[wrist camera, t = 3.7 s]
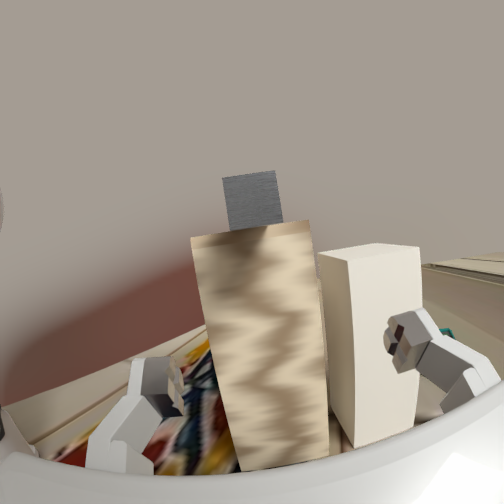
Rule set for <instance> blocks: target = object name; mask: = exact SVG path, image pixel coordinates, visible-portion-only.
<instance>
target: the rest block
mask: <svg viewBox="0 0 504 504" xmlns="http://www.w3.org/2000/svg"><path fill="white" fill-rule="evenodd" d="M317 255H318V263H319V271H320V280H321V289H322V298H323V307H324V318H325V328H326V340H327V352H328V366H329V382H330V402H331V408H332V410H333V411H334V413H335V415H336V417H337V419H338V421H339V422H340V424H341V426H342V428H343V430H344V431H345V433H346V435H347V437H348V439H349V440H350V442H351V444H352V446H353V448H357V447H360V446H363V445H366V444H369V443H372V442H375V441H378V440H381V439H383V438H386V437H389V436H391V435H394V434H397V433H399V432H402V431H404V430H406V429H409V428H411V427H413V424H414V418H415V411H416V403H417V395H418V386H419V376H420V372H418V371H417V370H416V368H415V369H412V370H409V371H406V372H403V373H400V374H398V373H397V371H396V369H395V367H394V365H393V363H392V358H393V356H392V355H390V354H389V353H387V351H386V349H385V346H384V343H383V335H384V331H385V330H386V329H387V328H388V327H389V326H388V324H387V322H388V319H389V318H390V317H391V316H394V315H398V314H401V313H404V312H408V311H412V310H415V309H418V308H422V279H421V262H420V249H419V247H413V246H402V245H391V244H380V243H373V244H368V245H362V246H355V247H349V248H344V249H338V250H332V251H326V252H320V253H317Z"/></svg>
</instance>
